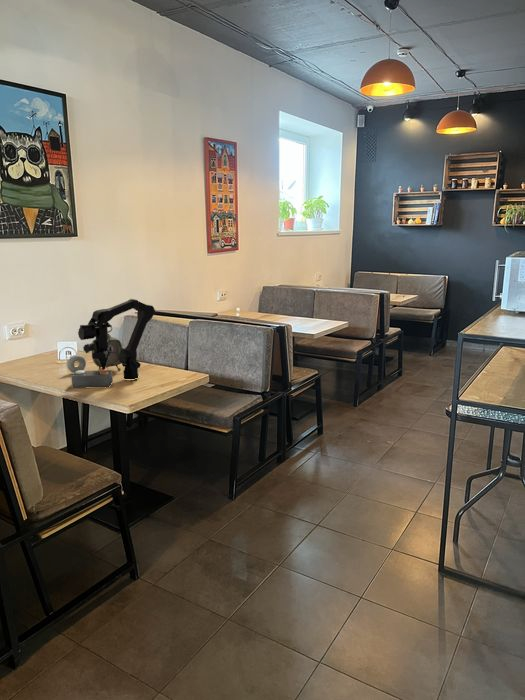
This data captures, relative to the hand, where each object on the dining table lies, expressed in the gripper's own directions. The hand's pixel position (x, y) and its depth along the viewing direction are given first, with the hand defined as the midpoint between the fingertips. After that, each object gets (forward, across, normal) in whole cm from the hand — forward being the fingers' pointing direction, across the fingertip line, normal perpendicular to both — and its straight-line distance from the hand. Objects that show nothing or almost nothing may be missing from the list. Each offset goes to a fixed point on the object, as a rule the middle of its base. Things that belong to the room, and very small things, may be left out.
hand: (103, 369), depth 246 cm
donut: (+8, -24, -18) cm, 31 cm away
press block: (+8, 0, -6) cm, 10 cm away
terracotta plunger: (+6, 0, 0) cm, 6 cm away
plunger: (+7, 0, -11) cm, 13 cm away
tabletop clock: (+8, -26, -4) cm, 28 cm away
